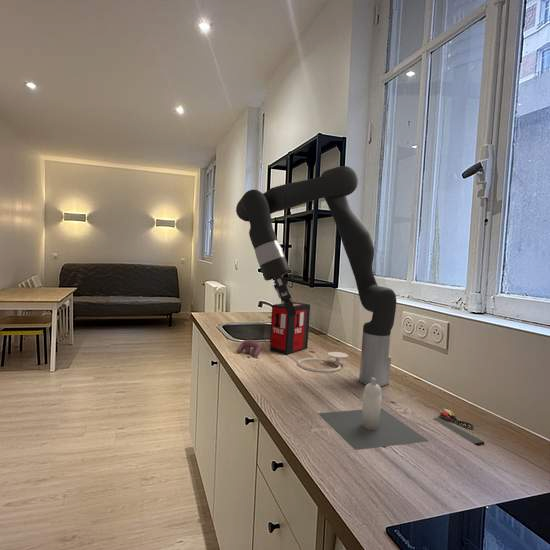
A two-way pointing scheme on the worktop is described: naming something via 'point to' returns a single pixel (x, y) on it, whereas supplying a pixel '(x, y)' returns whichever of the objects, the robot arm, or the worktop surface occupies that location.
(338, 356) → the hand towel holder
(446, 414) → the composite cable
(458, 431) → the smartphone
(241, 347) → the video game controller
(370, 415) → the white pump bottle
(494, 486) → the worktop surface
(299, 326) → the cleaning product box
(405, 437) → the mat
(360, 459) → the worktop surface
